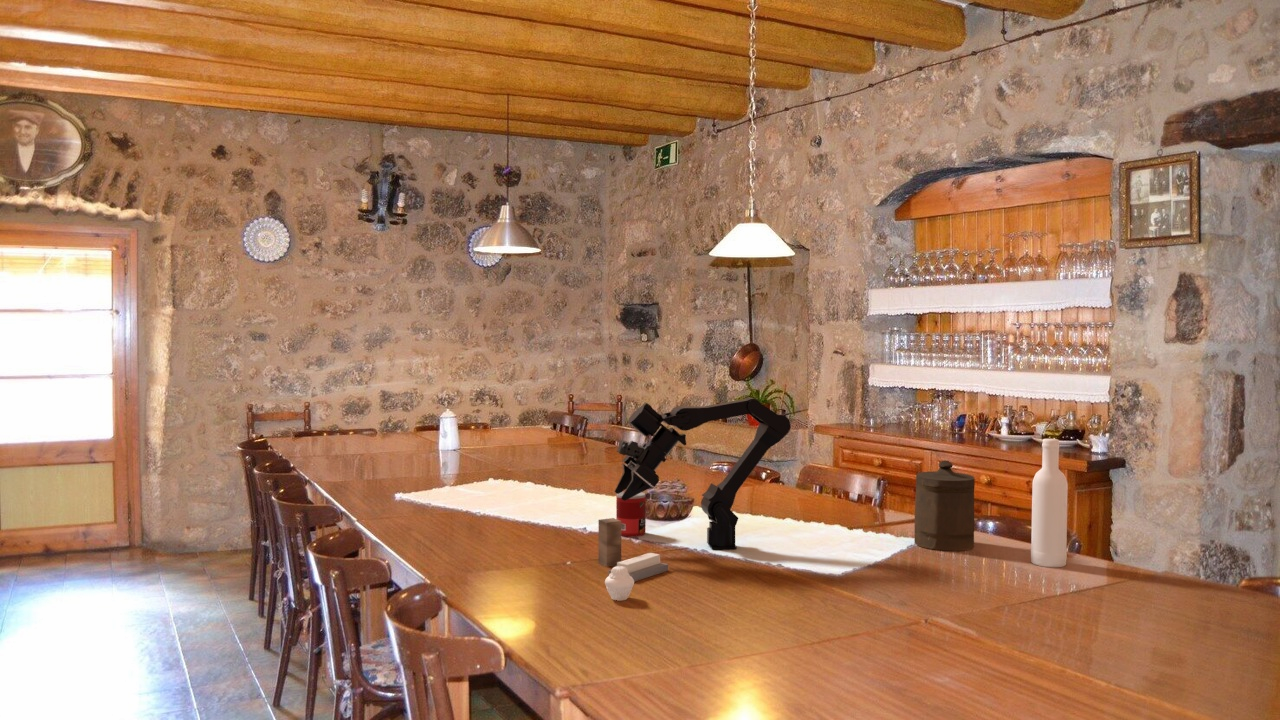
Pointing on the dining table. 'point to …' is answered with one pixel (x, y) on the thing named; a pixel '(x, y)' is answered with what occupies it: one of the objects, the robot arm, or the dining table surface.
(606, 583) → the muffin
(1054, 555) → the bottle
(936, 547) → the wooden container
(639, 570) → the ridge block
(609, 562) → the tall brown block
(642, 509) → the canned food
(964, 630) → the dining table surface
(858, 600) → the dining table surface
